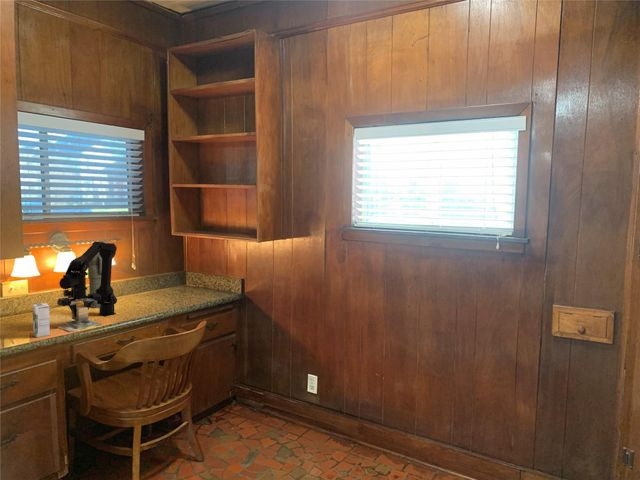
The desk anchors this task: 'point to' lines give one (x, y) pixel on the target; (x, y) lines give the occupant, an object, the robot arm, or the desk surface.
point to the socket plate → (79, 325)
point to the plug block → (81, 313)
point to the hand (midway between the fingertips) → (80, 316)
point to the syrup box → (41, 320)
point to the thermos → (95, 277)
